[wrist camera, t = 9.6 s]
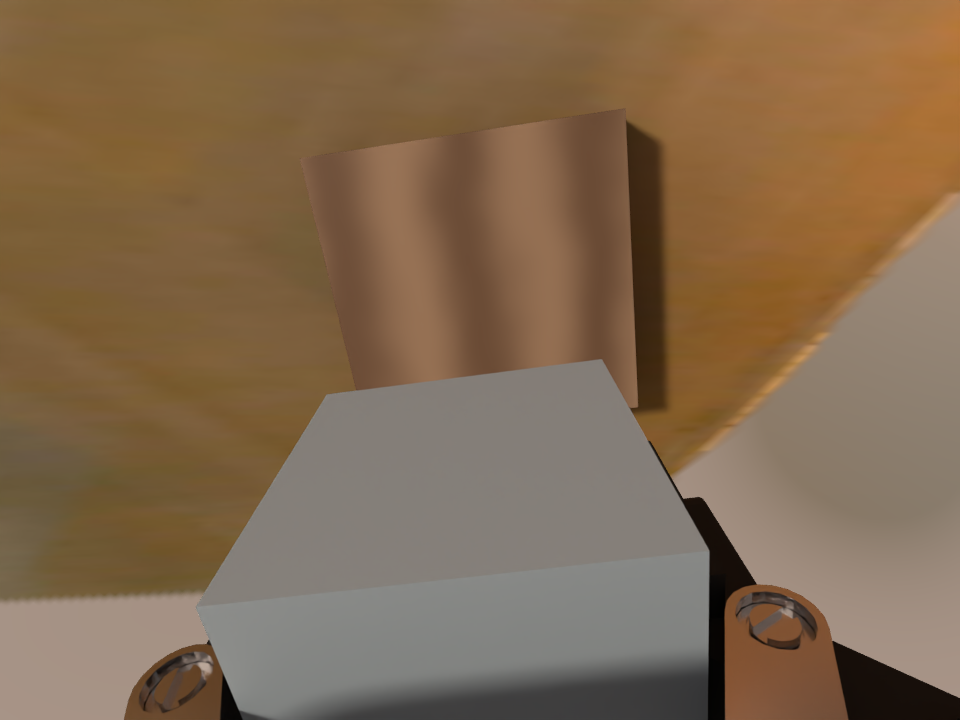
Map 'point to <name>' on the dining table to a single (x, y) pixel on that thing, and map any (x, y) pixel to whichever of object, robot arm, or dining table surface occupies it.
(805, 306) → the dining table surface
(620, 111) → the walnut base
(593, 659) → the light grey cube
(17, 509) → the dining table surface
